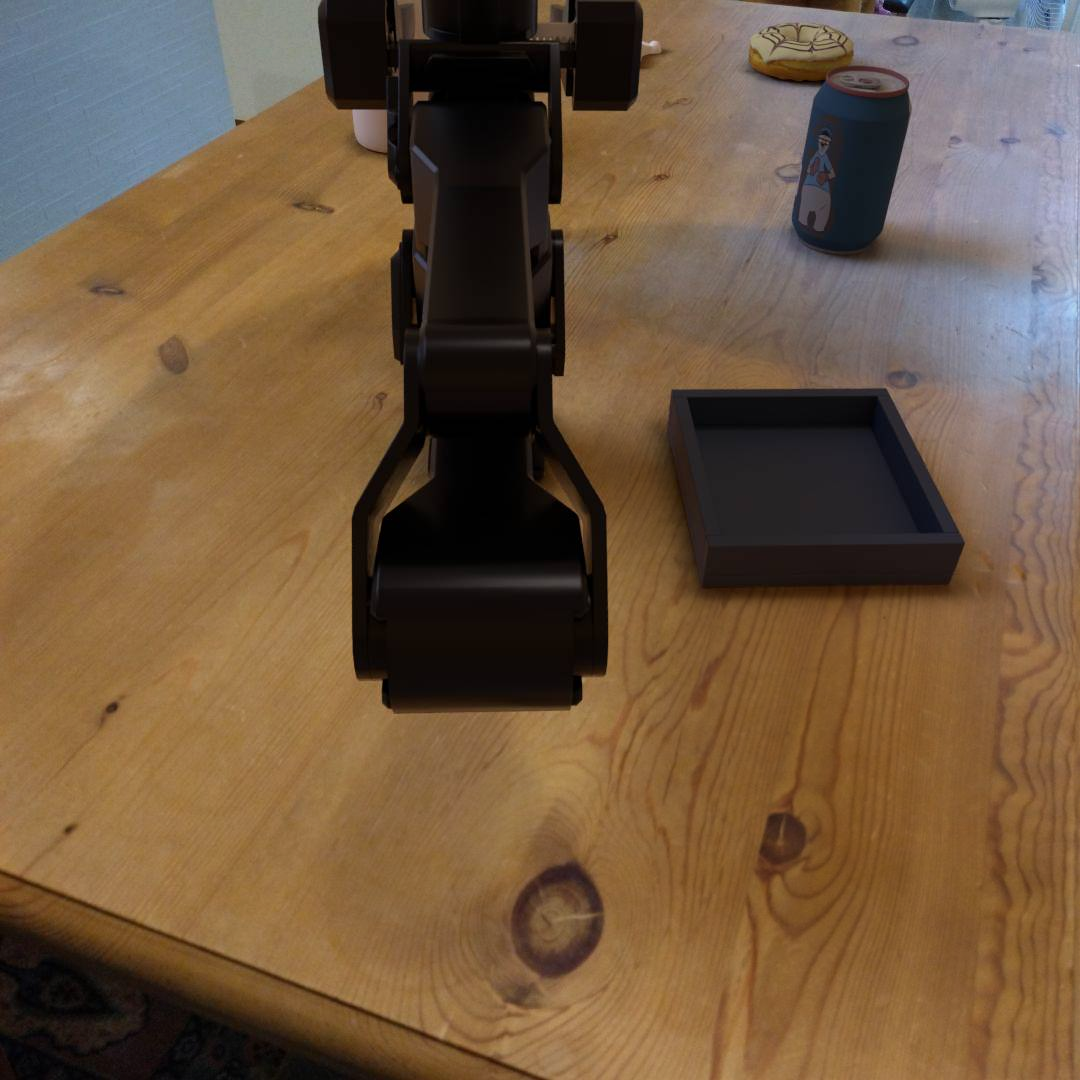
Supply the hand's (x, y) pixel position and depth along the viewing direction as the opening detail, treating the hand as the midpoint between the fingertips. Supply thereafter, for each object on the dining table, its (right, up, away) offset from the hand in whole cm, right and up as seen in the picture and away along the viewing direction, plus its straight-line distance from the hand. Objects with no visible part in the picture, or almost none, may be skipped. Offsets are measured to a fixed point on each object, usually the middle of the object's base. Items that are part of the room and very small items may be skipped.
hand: (482, 12), depth 69 cm
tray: (+18, -32, -11) cm, 39 cm away
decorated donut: (+31, +15, +44) cm, 56 cm away
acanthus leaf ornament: (+13, +19, +47) cm, 52 cm away
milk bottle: (-9, +2, +27) cm, 29 cm away
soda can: (+27, -11, +13) cm, 32 cm away
